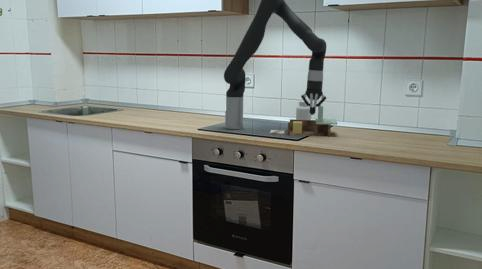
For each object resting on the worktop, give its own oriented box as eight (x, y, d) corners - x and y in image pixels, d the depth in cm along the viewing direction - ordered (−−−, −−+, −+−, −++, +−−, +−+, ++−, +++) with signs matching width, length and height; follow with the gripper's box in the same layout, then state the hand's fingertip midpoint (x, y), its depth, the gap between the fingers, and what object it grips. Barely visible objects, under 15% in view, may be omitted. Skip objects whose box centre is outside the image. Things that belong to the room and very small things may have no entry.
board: (268, 136, 223) (268, 122, 222) (270, 131, 236) (270, 118, 235) (330, 138, 219) (330, 124, 218) (328, 134, 232) (329, 120, 231)
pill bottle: (299, 127, 252) (300, 100, 250) (312, 128, 248) (313, 101, 246) (293, 129, 246) (294, 101, 243) (307, 130, 242) (308, 102, 239)
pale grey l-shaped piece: (316, 124, 219) (317, 108, 218) (315, 120, 232) (316, 104, 230) (337, 124, 218) (338, 108, 216) (335, 120, 230) (336, 105, 229)
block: (292, 133, 226) (292, 122, 225) (292, 131, 230) (293, 121, 229) (301, 133, 225) (302, 122, 224) (301, 132, 230) (302, 121, 229)
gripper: (301, 79, 219) (298, 114, 222) (329, 80, 217) (326, 116, 220) (301, 78, 226) (299, 112, 229) (328, 79, 224) (325, 114, 228)
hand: (312, 114), depth 225 cm, fingers closed
